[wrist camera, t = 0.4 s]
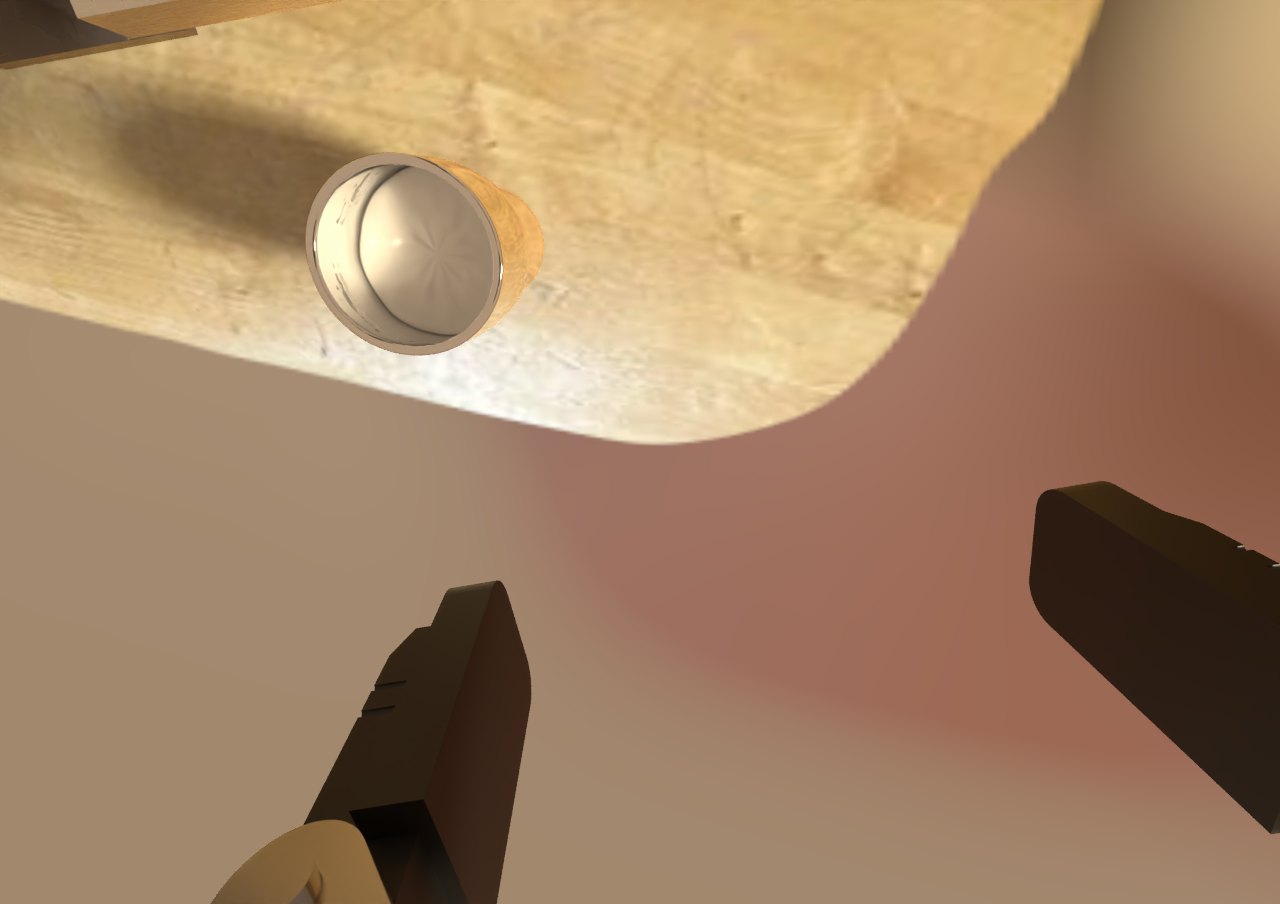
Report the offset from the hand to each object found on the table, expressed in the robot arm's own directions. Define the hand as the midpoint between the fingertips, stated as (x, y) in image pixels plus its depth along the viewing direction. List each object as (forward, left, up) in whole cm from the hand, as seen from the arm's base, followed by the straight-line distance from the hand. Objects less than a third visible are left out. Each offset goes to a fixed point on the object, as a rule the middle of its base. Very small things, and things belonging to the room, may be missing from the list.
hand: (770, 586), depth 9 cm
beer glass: (-5, -9, -29) cm, 31 cm away
